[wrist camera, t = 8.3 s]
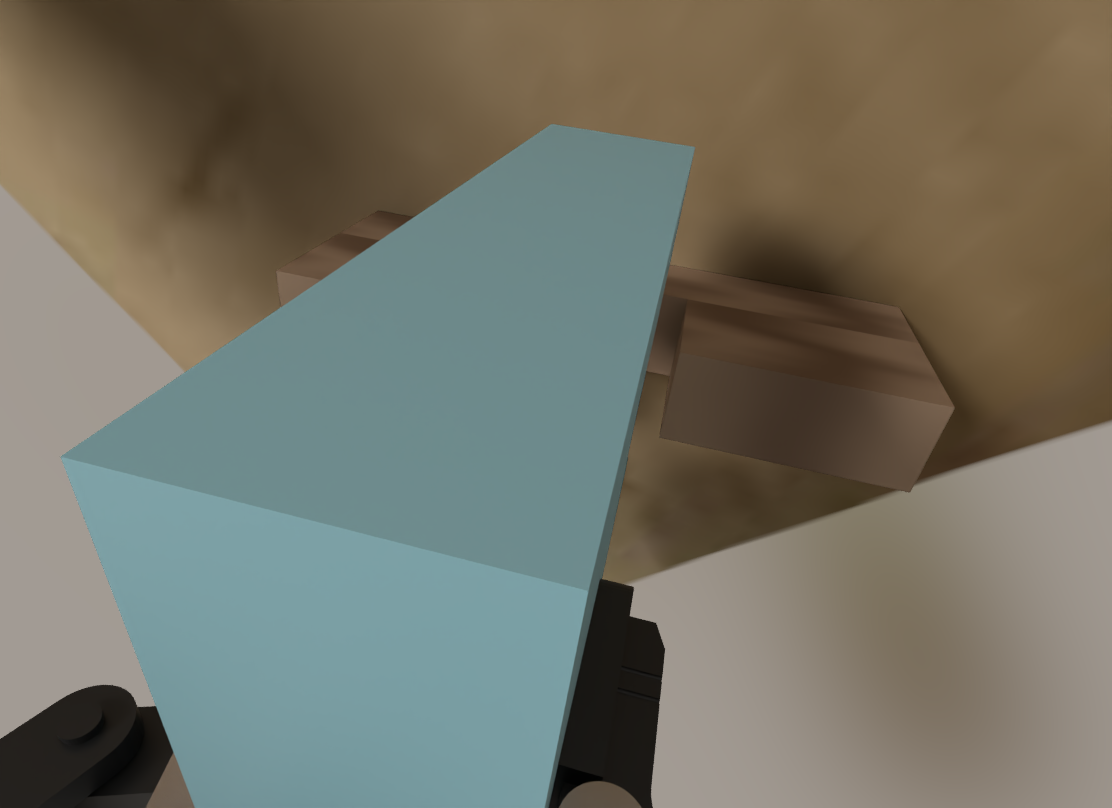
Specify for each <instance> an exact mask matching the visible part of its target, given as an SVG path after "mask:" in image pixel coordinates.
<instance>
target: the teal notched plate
mask: <svg viewBox="0 0 1112 808" xmlns="http://www.w3.org/2000/svg"><path fill="white" fill-rule="evenodd" d="M694 150H695V147H691V146H685V145H679V144H673V143H666V142H660V141H654V140H648V139H642V138H635V137H629V136H623V135H617V134H611V133H604V132H598V131H592V130H586V129H580V128H573V127H567V126H561V125H555V124H551V125H549V126H548V127H547V128H545V129H544V130H542V131H541V132H539V133H538V134H536V135H535V136H533V137H532V138H530V139H529V140H527V141H526V142H524V143H523V144H521V145H520V146H518V147H517V148H516V149H514V150H513V151H511V152H510V153H508V154H507V155H505V156H504V157H502V158H501V159H499V160H498V161H496V162H495V163H493V164H492V165H490V166H489V167H487V168H486V169H485V170H483V171H482V172H480V173H479V174H477V175H476V176H474V177H473V178H471V179H470V180H468V181H467V182H465V183H464V184H462V185H461V186H459V187H458V188H456V189H455V190H454V191H452V192H451V193H449V194H448V195H446V196H445V197H443V198H442V199H440V200H439V201H437V202H436V203H434V204H433V205H431V206H430V207H428V208H427V209H425V210H424V211H423V212H421V213H420V214H418V215H417V216H415V217H414V218H412V219H411V220H409V221H408V222H406V223H405V224H403V225H402V226H400V227H399V228H397V229H396V230H394V231H393V232H392V233H390V234H389V235H387V236H386V237H384V238H383V239H381V240H380V241H378V242H377V243H375V244H374V245H372V246H371V247H369V248H368V249H366V250H365V251H363V252H362V253H361V254H359V255H358V256H356V257H355V258H353V259H352V260H350V261H349V262H347V263H346V264H344V265H343V266H341V267H340V268H338V269H337V270H335V271H334V272H332V273H331V274H330V275H328V276H327V277H325V278H324V279H322V280H321V281H319V282H318V283H316V284H315V285H313V286H312V287H310V288H309V289H307V290H306V291H304V292H303V293H301V294H300V295H299V296H297V297H296V298H294V299H293V300H291V301H290V302H288V303H287V304H285V305H284V306H282V307H281V308H279V309H278V310H276V311H275V312H273V313H272V314H270V315H269V316H267V317H266V318H265V319H263V320H262V321H260V322H259V323H257V324H256V325H254V326H253V327H251V328H250V329H248V330H247V331H245V332H244V333H242V334H241V335H239V336H238V337H236V338H235V339H234V340H232V341H231V342H229V343H228V344H226V345H225V346H223V347H222V348H220V349H219V350H217V351H216V352H214V353H213V354H211V355H210V356H208V357H207V358H205V359H204V360H203V361H201V362H200V363H198V364H197V365H195V366H194V367H192V368H191V369H189V370H188V371H186V372H185V373H183V374H182V375H180V376H179V377H178V378H176V379H174V380H173V381H172V382H170V383H169V384H167V385H166V386H164V387H163V388H161V389H160V390H158V391H157V392H155V393H154V394H152V395H151V396H149V397H148V398H146V399H145V400H143V401H142V402H141V403H139V404H138V405H136V406H135V407H133V408H132V409H130V410H129V411H127V412H126V413H124V414H123V415H122V416H120V417H118V418H117V419H116V420H114V421H112V422H111V423H110V424H108V425H107V426H105V427H104V428H102V429H101V430H99V431H98V432H96V433H95V434H93V435H92V436H90V437H89V438H87V439H86V440H84V441H83V442H81V443H80V444H79V445H77V446H76V447H74V448H73V449H71V450H70V451H68V452H67V453H65V454H64V455H62V456H61V459H62V462H63V464H64V467H65V469H66V472H67V475H68V478H69V480H70V483H71V485H72V488H73V491H74V493H75V496H76V498H77V501H78V504H79V506H80V509H81V511H82V514H83V517H84V519H85V522H86V524H87V527H88V530H89V532H90V535H91V538H92V540H93V543H94V545H95V548H96V550H97V553H98V556H99V559H100V561H101V564H102V566H103V569H104V571H105V574H106V577H107V579H108V582H109V585H110V587H111V590H112V592H113V595H114V598H115V600H116V603H117V606H118V608H119V611H120V613H121V616H122V619H123V621H124V624H125V626H126V629H127V632H128V634H129V637H130V639H131V642H132V645H133V647H134V650H135V653H136V655H137V658H138V660H139V663H140V666H141V668H142V671H143V673H144V676H145V679H146V681H147V684H148V687H149V689H150V692H151V694H152V697H153V699H154V702H155V705H156V707H157V710H158V713H159V715H160V718H161V720H162V723H163V726H164V728H165V731H166V734H167V736H168V739H169V741H170V744H171V747H172V749H173V752H174V754H175V757H176V760H177V762H178V765H179V768H180V770H181V773H182V775H183V778H184V781H185V783H186V786H187V788H188V791H189V794H190V796H191V799H192V801H193V804H194V807H195V808H549V805H550V800H551V796H552V791H553V786H554V781H555V777H556V772H557V767H558V762H559V758H560V754H561V749H562V745H563V740H564V736H565V731H566V727H567V723H568V718H569V714H570V709H571V705H572V700H573V696H574V691H575V687H576V683H577V678H578V674H579V669H580V665H581V660H582V656H583V652H584V647H585V643H586V638H587V634H588V629H589V625H590V620H591V616H592V612H593V607H594V603H595V598H596V594H597V589H598V585H599V581H600V579H602V576H603V572H604V567H605V563H606V558H607V553H608V549H609V544H610V539H611V535H612V530H613V525H614V521H615V516H616V512H617V507H618V502H619V498H620V493H621V488H622V484H623V479H624V474H625V470H626V465H627V461H628V452H629V448H630V443H631V438H632V434H633V429H634V424H635V420H636V415H637V410H638V406H639V401H640V397H641V392H642V388H643V383H644V379H645V375H646V370H647V366H648V361H649V357H650V352H651V348H652V344H653V339H654V335H655V330H656V326H657V321H658V317H659V312H660V307H661V303H662V298H663V294H664V289H665V284H666V280H667V275H668V270H669V266H670V261H671V256H672V252H673V247H674V243H675V238H676V233H677V229H678V224H679V219H680V215H681V210H682V205H683V201H684V196H685V192H686V187H687V182H688V178H689V173H690V168H691V164H692V159H693V154H694Z"/></svg>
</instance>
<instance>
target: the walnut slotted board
mask: <svg viewBox="0 0 1112 808" xmlns="http://www.w3.org/2000/svg"><path fill="white" fill-rule="evenodd" d="M412 218H414V217H409V216H403V215H398V214H393V213H387V212H382V211H376V212H375V213H373V214H371V215H370V216H368V217H366V218H365V219H363V220H361V221H359V222H358V223H356V224H354V225H353V226H351V227H349V228H348V229H346V230H344V231H343V232H341V233H339V234H337V235H336V236H334V237H332V238H331V239H329V240H327V241H326V242H324V243H322V244H321V245H319V246H317V247H315V248H314V249H312V250H310V251H309V252H307V253H305V254H304V255H302V256H300V257H299V258H297V259H295V260H293V261H292V262H290V263H288V264H287V265H285V266H283V267H282V268H280V269H278V270H276V275H277V282H278V290H279V298H280V305H281V307H282V306H284V305H285V304H287V303H288V302H290V301H291V300H293V299H294V298H296V297H297V296H299V295H300V294H301V293H303V292H304V291H306V290H307V289H309V288H310V287H312V286H313V285H315V284H316V283H318V282H319V281H321V280H322V279H324V278H325V277H327V276H328V275H330V274H331V273H332V272H334V271H335V270H337V269H338V268H340V267H341V266H343V265H344V264H346V263H347V262H349V261H350V260H352V259H353V258H355V257H356V256H358V255H359V254H361V253H362V252H363V251H365V250H366V249H368V248H369V247H371V246H372V245H374V244H375V243H377V242H378V241H380V240H381V239H383V238H384V237H386V236H387V235H389V234H390V233H392V232H393V231H394V230H396V229H397V228H399V227H400V226H402V225H403V224H405V223H406V222H408V221H409V220H411V219H412ZM646 371H648V372H653V373H658V374H662V375H667V376H669V381H668V387H667V393H666V399H665V406H664V412H663V418H662V424H661V431H660V437H659V438H664V439H668V440H673V441H678V442H682V443H687V444H691V445H696V446H700V447H705V448H709V449H714V450H719V451H723V452H728V453H732V454H737V455H741V456H746V457H750V458H755V459H760V460H764V461H769V462H773V463H778V464H782V465H787V466H791V467H796V468H800V469H805V470H810V471H814V472H819V473H823V474H828V475H832V476H837V477H841V478H846V479H851V480H855V481H860V482H864V483H869V484H873V485H878V486H882V487H887V488H892V489H896V490H901V491H905V492H911V490H912V488H913V486H914V484H915V482H916V480H917V478H918V476H919V475H920V473H921V471H922V469H923V467H924V465H925V463H926V461H927V460H928V458H929V456H930V454H931V452H932V450H933V448H934V446H935V445H936V443H937V441H938V439H939V437H940V435H941V433H942V431H943V430H944V428H945V426H946V424H947V422H948V420H949V418H950V416H951V414H952V413H953V411H954V409H955V407H954V405H953V403H952V402H951V400H950V398H949V396H948V394H947V393H946V391H945V389H944V387H943V386H942V384H941V382H940V380H939V378H938V377H937V375H936V373H935V371H934V369H933V368H932V366H931V364H930V362H929V360H928V359H927V357H926V355H925V353H924V351H923V350H922V348H921V346H920V344H919V342H918V341H917V339H916V337H915V335H914V334H913V332H912V330H911V328H910V326H909V325H908V323H907V321H906V319H905V317H904V316H903V314H902V312H901V310H900V308H899V307H896V306H890V305H885V304H879V303H874V302H868V301H863V300H858V299H852V298H847V297H841V296H836V295H831V294H825V293H820V292H814V291H809V290H804V289H798V288H793V287H787V286H782V285H777V284H771V283H766V282H760V281H755V280H750V279H744V278H739V277H733V276H728V275H722V274H717V273H712V272H706V271H701V270H695V269H690V268H685V267H679V266H674V265H670V266H669V270H668V275H667V280H666V284H665V289H664V294H663V298H662V303H661V307H660V312H659V317H658V321H657V326H656V330H655V335H654V339H653V344H652V348H651V352H650V357H649V361H648V366H647V370H646Z"/></svg>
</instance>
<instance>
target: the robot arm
mask: <svg viewBox="0 0 1112 808" xmlns="http://www.w3.org/2000/svg"><path fill="white" fill-rule="evenodd" d="M633 591H634V587H632V586H628V585H624V584H620V583H616V582H612V581H608V580H604V579H600V581H599V585H598V589H597V594H596V598H595V603H594V607H593V612H592V616H591V620H590V625H589V629H588V634H587V638H586V643H585V647H584V652H583V656H582V660H581V665H580V669H579V674H578V678H577V683H576V687H575V691H574V696H573V700H572V705H571V709H570V714H569V718H568V723H567V727H566V731H565V736H564V740H563V745H562V749H561V754H560V758H559V762H558V767H557V772H556V777H555V781H554V786H553V791H552V796H551V800H550V805H549V808H653V807H652V800H651V784H652V773H653V764H654V754H655V743H656V734H657V733H656V732H657V724H658V714H659V701H660V694H661V684H662V682H661V680H662V674H663V664H664V653H665V648H664V645H663V642H662V639H661V636H660V633H659V630H658V627H657V625H656V623H654V622H650V621H646V620H642V619H638V618H634V617H630V609H631V603H632V596H633ZM0 808H195V807H194V804H193V801H192V799H191V796H190V794H189V791H188V788H187V786H186V783H185V781H184V778H183V775H182V773H181V770H180V768H179V765H178V762H177V760H176V757H175V754H174V752H173V749H172V747H171V744H170V741H169V739H168V736H167V734H166V731H165V728H164V726H163V723H162V720H161V718H160V715H159V713H158V710H157V707H156V706H152V707H137V705H136V702H135V700H134V698H133V697H132V695H131V694H130V693H129V692H128V691H127V690H125V689H122V688H121V687H117V686H113V685H99V686H92V687H88V688H84V689H81V690H79V691H76V692H74V693H72V694H70V695H68V696H66V697H64V698H62V699H61V700H59V701H58V702H56V703H54V704H53V705H51V706H50V707H48V708H47V709H45V710H44V711H42V712H41V713H39V714H38V715H36V716H35V717H33V718H32V719H30V720H29V721H27V722H25V723H24V724H22V725H21V726H19V727H18V728H16V729H15V730H14V731H12V732H10V733H9V734H7V735H6V736H4V737H3V738H1V739H0Z"/></svg>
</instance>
